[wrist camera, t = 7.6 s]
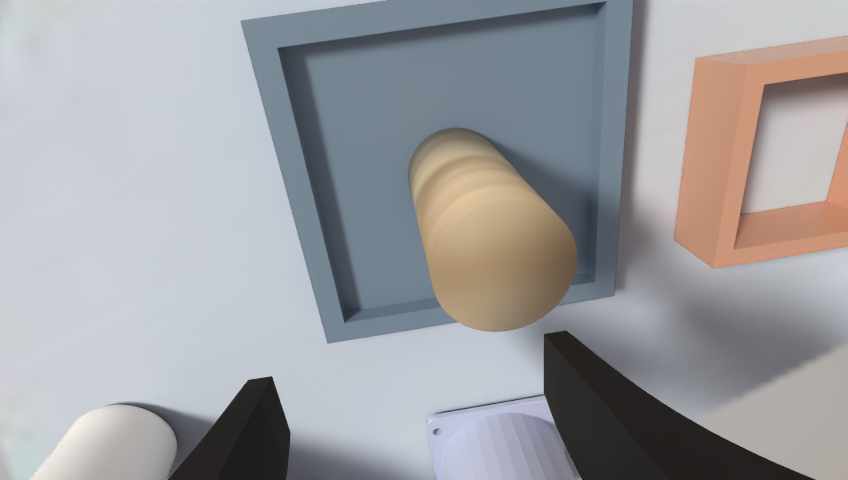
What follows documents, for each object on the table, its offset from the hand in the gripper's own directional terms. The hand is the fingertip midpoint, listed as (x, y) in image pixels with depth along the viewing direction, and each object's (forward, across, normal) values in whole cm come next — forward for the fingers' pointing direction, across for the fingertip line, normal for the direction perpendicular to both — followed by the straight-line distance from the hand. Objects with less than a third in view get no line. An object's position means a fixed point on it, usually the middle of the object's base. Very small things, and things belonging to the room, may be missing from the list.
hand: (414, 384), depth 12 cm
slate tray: (+10, -3, -2) cm, 11 cm away
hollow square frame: (+10, -18, -2) cm, 21 cm away
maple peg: (+10, -3, -2) cm, 10 cm away
